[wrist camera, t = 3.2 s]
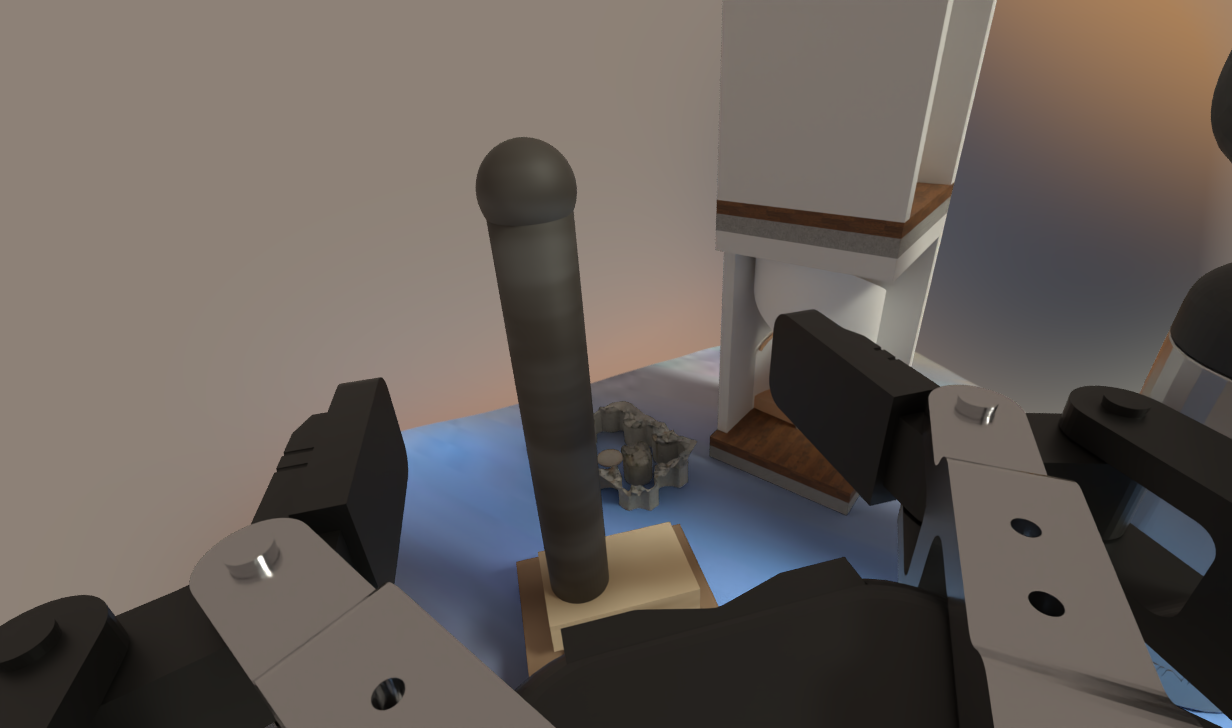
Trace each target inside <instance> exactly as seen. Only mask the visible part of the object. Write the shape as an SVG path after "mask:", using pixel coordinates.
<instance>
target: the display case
mask: <svg viewBox="0 0 1232 728" xmlns="http://www.w3.org/2000/svg"><path fill="white" fill-rule="evenodd" d="M996 1H997V0H723V8H722V9H723V10H722V42H721V44H722V45H721V78H720V111H719V145H718V179H717V180H718V181H717V216H716V247H715V248H716V249H715V250H717V251H722V252H724V268H723V293H722V321H721V346H720V373H719V400H718V427H717V430H716V431H715V432H714V433H713V434H712V435H711V436H710V453H709V456H710V457H713V458H715V459H717V460H720V461H722V462H724V463H727V464H729V465H731V466H734V467H736V468H738V469H740V470H743V471H745V472H747V473H750V474H752V475H754V476H757V477H759V478H761V479H764V480H766V481H768V482H770V483H773V484H775V485H777V486H780V487H782V488H784V489H787V490H789V491H791V492H794V493H796V494H798V495H800V496H803V497H805V498H807V499H810V500H812V501H814V502H817V503H819V504H821V505H823V506H826V507H828V508H830V509H833V510H835V511H837V512H840V513H842V514H844V515H847V514H848V513H849V511H850V509H851V508H852V506H853V505H854V503H855V501H856V500H857V498H858V497H859V494H858V493H857V492H856V491H855V489H854V488H853V487H852V486H851V485H850V484H849V483H848V482H847V481H846V480H845V479H844V478H843V477H842V476H841V474H840V473H839V472H838V471H837V470H836V469H835V468H834V467H833V466H832V465H831V464H830V463H829V462H828V460H827V459H826V458H825V457H824V456H823V455H822V454H821V453H820V452H819V451H818V450H817V449H816V448H815V446H814V445H813V444H812V443H811V442H810V441H809V440H808V439H807V438H806V437H805V436H804V435H803V434H802V432H801V431H800V430H799V429H798V428H797V427H796V426H795V425H794V424H793V423H792V422H791V421H790V420H789V419H788V417H787V416H786V415H785V414H784V413H783V412H782V411H781V410H780V409H779V408H778V407H777V405H776V404H775V402H774V400H773V398H772V395H771V392H770V386H769V373H770V362H771V351H772V340H773V329H774V323H775V320H776V318H777V317H778V316H779V315H780V314H785V313H792V312H798V311H804V310H810V309H815V310H817V311H819V312H820V313H822V314H823V315H825V316H826V317H828V318H829V319H831V320H832V321H834V322H835V323H836V324H838V325H839V326H841V327H842V328H844V329H847V330H850V331H853V332H855V333H858V334H861V335H864V336H865V337H867V338H868V339H870V340H871V341H873V342H874V343H876V344H877V345H879V346H880V347H881V349H882V350H884V349H885V350H886V351H888V352H889V353H891V354H892V355H894V356H895V358H896V360H897V359H900V360H901V361H903V362H904V363H906V364H907V365H909V366H910V367H911V365H912V361H913V357H914V352H915V348H916V343H917V339H918V335H919V331H920V327H921V322H922V318H923V314H924V309H925V305H926V301H927V297H928V292H929V288H930V284H931V280H932V275H933V271H934V267H935V262H936V258H937V254H938V250H939V245H940V241H941V237H942V232H943V228H944V224H945V220H946V215H947V211H948V207H949V203H950V198H951V194H952V190H953V185H954V181H955V177H956V172H957V168H958V164H959V159H960V155H961V151H962V147H963V143H964V138H965V133H966V129H967V125H968V121H969V117H970V112H971V108H972V104H973V100H974V96H975V91H976V87H977V83H978V78H979V74H980V69H981V65H982V61H983V57H984V53H985V48H986V44H987V39H988V36H989V31H990V27H991V23H992V18H993V14H994V10H995V6H996Z"/></svg>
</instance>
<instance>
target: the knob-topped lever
mask: <svg viewBox="0 0 1232 728" xmlns="http://www.w3.org/2000/svg"><path fill="white" fill-rule="evenodd" d="M476 196H477V200H478V204H479V206H480V209H481V211H482V213H483V215H484V217H485V218H486V220H487V226H488V231H489V237H490V243H491V248H492V254H493V259H494V265H495V271H496V277H497V283H498V288H499V294H500V300H501V305H502V311H503V317H504V322H505V328H506V334H507V339H508V345H509V351H510V357H511V362H512V368H513V374H514V379H515V385H516V390H517V396H518V402H519V408H520V413H521V419H522V425H523V430H524V436H525V442H526V447H527V453H528V459H529V464H530V470H531V476H532V481H533V487H534V493H535V499H536V504H537V510H538V516H539V521H540V527H541V533H542V538H543V544H544V550H545V551H541V552H538V556H539V562H540V568H541V575H542V581H543V587H544V594H545V600H546V606H547V613H548V619H549V625H550V631H551V636H552V642H553V647H554V652H556V651H560V650H564V648H563V642H562V635H561V628H565V627H569V626H573V625H577V624H581V623H585V622H589V621H593V620H597V619H601V618H605V617H609V616H613V615H617V614H621V613H625V612H629V611H632V610H646V609H698V608H700V587H699V585H698V583H697V581H696V578H695V576H694V574H693V572H692V570H691V567H690V565H689V563H688V561H687V558H686V556H685V554H684V552H683V550H682V547H681V545H680V543H679V541H678V539H677V536H676V534H675V532H674V530H673V528H672V525H671V523H670V522H666V523H662V524H657V525H653V526H649V527H644V528H640V529H636V530H631V531H627V532H623V533H618V534H614V535H610V536H605V529H604V519H603V508H602V498H601V488H600V478H599V467H598V457H597V447H596V437H595V427H594V416H593V406H592V396H591V386H590V376H589V365H588V355H587V345H586V335H585V324H584V314H583V304H582V293H581V284H580V273H579V264H578V253H577V243H576V232H575V222H574V212H573V210H574V208H575V203H576V196H577V187H576V180H575V176H574V173H573V171H572V169H571V167H570V165H569V163H568V161H567V160H566V159H565V157H564V156H563V155H562V154H561V153H560V152H559V151H558V150H557V149H556V148H554V147H553V146H551V145H550V144H548V143H546V142H544V141H541V140H538V139H534V138H527V137H519V138H513V139H509V140H507V141H504V142H502V143H500V144H499V145H497V146H496V147H494V148H493V149H492V150H491V151H490V152H489V153H488V155H486V157H485V158H484V160H483V161H482V163H481V165H480V168H479V170H478V174H477V179H476Z"/></svg>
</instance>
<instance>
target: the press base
mask: <svg viewBox="0 0 1232 728" xmlns="http://www.w3.org/2000/svg"><path fill="white" fill-rule="evenodd" d="M672 528H673V530H674V532H675V534H676V536H677V539H678V541H679V543H680V545H681V547H682V550H683V552H684V554H685V556H686V558H687V561H688V563H689V565H690V567H691V570H692V572H693V574H694V576H695V578H696V581H697V583H698V585H699V587H700V608H716V607H719V606H718V604H717V602H716V600H715V598H714V596H713V593H712V591H711V589H710V587H709V585H708V583H707V581H706V579H705V577H704V574H703V572H702V570H701V568H700V566H699V564H698V562H697V560H696V557H695V555H694V553H693V551H692V549H691V547H690V545H689V543H688V541H687V538H686V536H685V534H684V532H683V530H682V528H681V526H680V524H677V525H673V526H672ZM516 565H517V574H518V583H519V592H520V601H521V610H522V619H523V628H524V636H525V645H526V654H527V663H528V672H529V677H530V676H531V675H532V674H534V673H535V672H536V671H538V670H539V669H541V668H542V667H543V666H545V665H546V664H548V663H549V662H551V661H552V660H554V659H556V658H558V657H560V656H562V655H563V654H564V650H560V651H556V652H554V647H553V642H552V636H551V631H550V625H549V619H548V613H547V606H546V600H545V594H544V587H543V581H542V575H541V568H540V562H539V557H535V558H531V559H527V560H522V561H518V562H516Z"/></svg>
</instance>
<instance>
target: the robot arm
mask: <svg viewBox="0 0 1232 728" xmlns="http://www.w3.org/2000/svg"><path fill="white" fill-rule="evenodd" d="M1211 123H1212V129H1213V133H1214V136H1215V139H1216V141H1217V144H1218V146H1219V148H1220V149H1221V151H1222V152H1223V153H1224V154H1225V156H1226V157H1227V158H1228V159H1229V160H1230V161H1231V163H1232V50H1231V52H1230V54H1229V56H1228V58H1227V60H1226V62H1225V65H1224V67H1223V69H1222V71H1221V74H1220V76H1219V79H1218V82H1217V85H1216V88H1215V91H1214V95H1213V100H1212V106H1211ZM769 386H770V392H771V395H772V398H773V400H774V402H775V404H776V405H777V407H778V408H779V409H780V410H781V411H782V412H783V413H784V414H785V415H786V416H787V417H788V419H789V420H790V421H791V422H792V423H793V424H794V425H795V426H796V427H797V428H798V429H799V430H800V431H801V432H802V434H803V435H804V436H805V437H806V438H807V439H808V440H809V441H810V442H811V443H812V444H813V445H814V446H815V448H816V449H817V450H818V451H819V452H820V453H821V454H822V455H823V456H824V457H825V458H826V459H827V460H828V462H829V463H830V464H831V465H832V466H833V467H834V468H835V469H836V470H837V471H838V472H839V473H840V474H841V476H842V477H843V478H844V479H845V480H846V481H847V482H848V483H849V484H850V485H851V486H852V487H853V488H854V489H855V491H856V492H857V493H858V494H859V495H860V496H861V497H862V498H863V499H864V500H865V501H866V502H867V503H868V505H869V506H872V505H876V504H880V503H884V502H889V501H893V500H898V501H899V502H900V503H901V507H900V510H899V514H898V520H897V523H898V582H893V581H887V580H878V579H862V578H861V577H860V576H859V574H858V573H857V572H856V571H855V569H854V568H853V567H852V566H851V564H850V563H849V562H848V560H847V559H846V558H845V557H842V558H838V559H834V560H830V561H826V562H822V563H818V564H814V565H810V566H806V567H802V568H798V569H794V570H790V571H786V572H782V573H779V574H777V575H776V576H774V577H772V578H770V579H769V580H767V581H765V582H763V583H761V584H760V585H758V586H756V587H754V588H753V589H751V590H749V591H747V592H746V593H744V594H742V595H740V596H738V597H737V598H735V599H733V600H731V601H730V602H728V603H726V604H724V605H722V606H719V607H716V608H698V609H646V610H632V611H629V612H625V613H621V614H617V615H613V616H609V617H605V618H601V619H597V620H593V621H589V622H585V623H581V624H577V625H573V626H569V627H565V628H561V635H562V642H563V648H564V654H563V655H562V656H560V657H558V658H556V659H554V660H552V661H551V662H549V663H548V664H546V665H545V666H543V667H542V668H541V669H539V670H538V671H536V672H535V673H534V674H532V675H531V676H530V677H529V678H528V679H527V680H526V681H524V682H523V683H522V684H521V685H520V686H519V687H518V688H517V689H516V690H515V691H514V690H513V689H512V688H511V687H510V686H508V685H507V684H506V683H505V682H504V681H503V680H502V679H501V678H500V677H498V676H497V675H496V674H495V673H494V672H493V671H492V670H491V669H489V668H488V667H487V666H486V665H485V664H484V663H483V662H482V661H480V660H479V659H478V658H477V657H476V656H475V655H474V654H473V653H472V652H470V651H469V650H468V649H467V648H466V647H465V646H464V645H463V644H461V643H460V642H459V641H458V640H457V639H456V638H455V637H454V636H453V635H451V634H450V633H449V632H448V631H447V630H446V629H445V628H444V627H442V626H441V625H440V624H439V623H438V622H437V621H436V620H435V619H433V618H432V617H431V616H430V615H429V614H428V613H427V612H426V611H425V610H423V609H422V608H421V607H420V606H419V605H418V604H417V603H416V602H414V601H413V600H412V599H411V598H410V597H409V596H408V595H407V594H406V593H404V592H403V591H402V590H401V589H400V588H399V587H397V586H396V585H394V582H395V575H396V567H397V559H398V551H399V543H400V535H401V528H402V520H403V512H404V504H405V496H406V489H407V481H408V461H407V454H406V449H405V444H404V441H403V438H402V434H401V431H400V428H399V424H398V421H397V417H396V414H395V411H394V407H393V404H392V401H391V397H390V394H389V391H388V388H387V385H386V383H385V381H384V379H383V378H374V379H367V380H362V381H356V382H349V383H342V384H339V385H338V387H337V389H336V392H335V394H334V397H333V399H332V402H331V405H330V407H329V410H328V412H327V413H321V414H315V415H312V416H311V417H309V418H308V419H307V420H306V421H305V422H304V423H303V424H302V425H301V426H300V427H299V428H298V429H297V430H296V431H294V432H293V434H292V435H291V438H290V440H289V442H288V444H287V446H286V448H285V451H284V456H282V457H281V460H280V462H279V464H278V466H277V468H276V469H277V472H276V473H274V475H273V477H272V479H271V481H270V484H269V486H268V488H267V490H266V492H265V495H264V497H263V499H262V501H261V503H260V505H259V508H258V510H257V512H256V514H255V516H254V518H253V521H252V523H251V525H249V526H247V527H244V528H242V529H241V530H238V531H236V532H234V533H232V534H231V535H229V536H227V537H226V538H224V539H223V540H221V541H220V542H219V543H217V544H216V545H214V546H213V547H212V548H211V549H210V550H209V551H208V552H207V553H206V554H205V555H204V556H203V557H202V558H201V559H200V561H199V562H198V563H197V565H196V566H195V568H194V570H193V572H192V574H191V577H190V581H189V584H190V585H188V586H186V587H183V588H181V589H179V590H177V591H175V592H172V593H170V594H168V595H165V596H163V597H160V598H158V599H156V600H153V601H151V602H148V603H146V604H144V605H141V606H139V607H137V608H134V609H132V610H129V611H127V612H124V613H122V614H120V615H117V616H115V615H114V614H113V613H112V611H111V610H110V609H109V608H108V606H107V605H106V603H105V602H104V601H103V600H101V599H100V598H98V597H95V596H89V595H78V596H70V597H65V598H61V599H58V600H54V601H51V602H48V603H45V604H43V605H40V606H38V607H35V608H33V609H31V610H29V611H27V612H24V613H22V614H21V615H19V616H17V617H15V618H13V619H11V620H10V621H8V622H6V623H5V624H3V625H1V626H0V728H264V727H266V726H268V725H269V724H271V723H274V725H275V726H276V728H1222V727H1220V726H1218V725H1216V724H1214V723H1212V722H1209V721H1207V720H1205V719H1203V718H1201V717H1199V716H1197V715H1195V714H1192V713H1190V712H1188V711H1186V710H1184V709H1182V708H1180V707H1178V706H1182V707H1186V708H1190V709H1195V710H1199V711H1203V712H1218V713H1224V714H1225V715H1226V716H1227V717H1228V718H1229V719H1230V720H1232V263H1229V264H1226V265H1224V266H1221V267H1218V268H1216V269H1214V270H1212V271H1210V272H1208V273H1207V274H1205V275H1204V276H1203V277H1201V278H1200V279H1199V280H1198V281H1197V282H1196V283H1195V284H1194V285H1193V286H1192V288H1191V289H1190V290H1189V292H1188V294H1187V296H1186V297H1185V299H1184V301H1183V303H1182V305H1181V307H1180V309H1179V311H1178V313H1177V315H1176V317H1175V319H1174V321H1173V324H1172V326H1171V328H1170V330H1169V332H1168V334H1167V336H1166V338H1165V340H1164V342H1163V345H1162V347H1161V349H1160V351H1159V353H1158V355H1157V357H1156V359H1155V361H1154V363H1153V365H1152V368H1151V370H1150V372H1149V374H1148V376H1147V378H1146V380H1145V382H1144V385H1143V387H1142V389H1141V391H1140V393H1139V394H1138V393H1135V392H1132V391H1128V390H1124V389H1119V388H1113V387H1106V386H1085V387H1080V388H1077V389H1075V390H1073V391H1072V392H1071V393H1070V395H1069V398H1068V401H1067V403H1066V405H1065V408H1064V410H1063V413H1062V414H1050V413H1049V414H1047V413H1025V411H1024V410H1023V409H1022V408H1021V406H1020V405H1018V404H1017V403H1016V402H1015V401H1013V400H1011V399H1010V398H1008V397H1006V396H1004V395H1002V394H999V393H997V392H994V391H991V390H988V389H984V388H980V387H975V386H968V385H947V386H942V387H940V386H939V385H937V384H936V383H934V382H933V381H931V380H930V379H928V378H927V377H925V376H924V375H922V374H921V373H919V372H918V371H916V370H915V369H913V368H912V367H910V366H909V365H907V364H906V363H904V362H903V361H901V360H900V359H897V360H896V358H895V356H894V355H892V354H891V353H889V352H888V351H886V350H885V349H884V350H882V349H881V347H880V346H879V345H877V344H876V343H874V342H873V341H871V340H870V339H868V338H867V337H865V336H864V335H861V334H858V333H855V332H853V331H850V330H847V329H844V328H842V327H841V326H839V325H838V324H836V323H835V322H834V321H832V320H831V319H829V318H828V317H826V316H825V315H823V314H822V313H820V312H819V311H817V310H815V309H810V310H804V311H798V312H792V313H785V314H780V315H779V316H778V317H777V318H776V320H775V323H774V329H773V340H772V351H771V362H770V373H769ZM1176 705H1178V706H1176Z"/></svg>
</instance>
